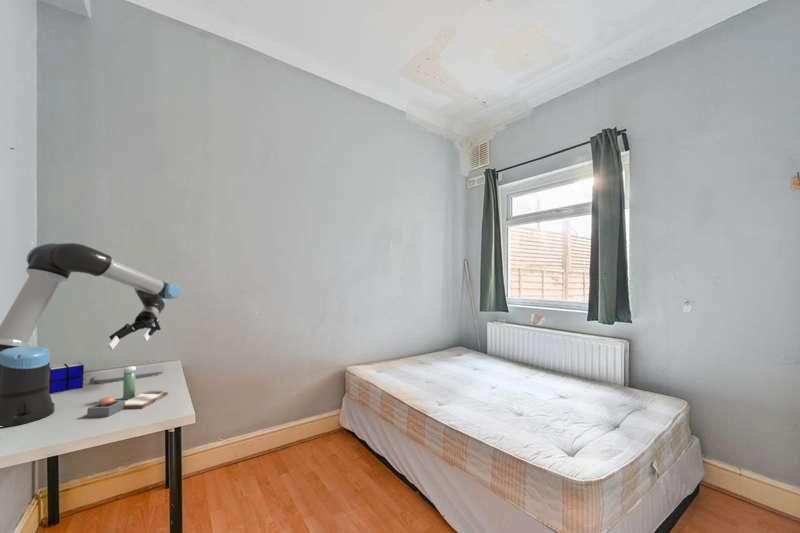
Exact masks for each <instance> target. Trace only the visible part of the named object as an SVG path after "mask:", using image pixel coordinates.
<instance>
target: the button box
mask: <svg viewBox="0 0 800 533" xmlns="http://www.w3.org/2000/svg"><path fill="white" fill-rule="evenodd" d="M125 401H126V400H123V399H119V400H118V399H117V400H116V399H115V402H114V403H112V404H109V405H99V402H98V403H96V404H94V405H92V406H89V407H87V412H86V414H87V416H86V417H87V418H102V417H103V418H104V417H111V416H113V415H115V414H117V413H119V412H121V411H123V410H125V409H124V406H125Z"/></svg>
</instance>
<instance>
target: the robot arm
mask: <svg viewBox="0 0 800 533" xmlns="http://www.w3.org/2000/svg"><path fill="white" fill-rule="evenodd" d="M26 262H27V265H28V266H27V268H26V270H25V272H26V273H27V275H28V278H27V279H26V281H25V282H24V285H23V286H22V288H21V290H19V293H18V294H17V296H16V298H15V299H14V302H13V303H12V304H11V306H10V308H9V310H8V312H7V313H6V315H5V317H4V318H3V320H2V322H1V323H0V426H9V427H14V426H13V425H15V426H19V424H20V425H23V424H27V423H28V424H29V423H31V422H35V421H38V420H41V419H44V418H47V417H49V416H51V415H53V413H54V412H55V408H56V407H55V403H54V402H53V400H52V396H51V394H49V391H48V384H49V366H51V365H50V363H51V353H50V349H48V348H47V347H44V346H43V347H42V346H33V345H32V346H30V344H29V341H30V339H31V337H32V335H33V333H34V331H35V329H36V328H37V327H38V326H37V325H38V324H39V322H40V321H41V319H42V316H43V314H44V313H45V312H46V309H47V307H48V306H49V303H50V302H51V300H52V298H53V296H54V294H55V293H56V291H57V289H58V287H59V285H60V283H63V282H67V281H68V279H69V277H70V275H71V273H82V274H83V273H84V274H87V275H90V276H94V277H100V276H102V277H104V278H107V279H110V280H113V281H115V282H118V283H120V284H124V285H126V286H129V287H131V288H133V289H134V292H135V293H136V295H137V296H138V299H139V300H140V302H141V303H142V305H143V308H142V309H141V310H140V311H139V313H138V314H137V315H136V317H135V319H134V322H132V323H131V324H129V323H126V324H124V326H122V327H121V328H120V329H118V330H117V331H115V332H113V333H112V334H111V335H108V337H109V339H110V341H109V343H108V344H107V347H108V348H109V350H114V349H115V347H116V346H117V345H118V344H119V343H120V341H121V339H122V338H125V337H126V336H128V335H130V334H132V333H135V332H137V331H139V330H143V329H147V330H146V332H144V334H143V336H142V339H143V340H144V342H148V340H149V339H150V338H151V336H153V335H154V333H155V332H156V331H161V326H160V324H159V323H160V320H159V318H158V317H159V315H160V314H161V313H162V312H163V310H164V309H165V307H166V304H167V301H166V300H172V299H176V298H178V296H179V295H180V294H181V287H180V286H179V284H176V283H167V282H165V281H163V280H160V279H158V278H156V277H153V276H151V275H148V274H146V273H144V272H141V271H139V270H137V269H135V268H132V267H130V266H128V265H126V264H124V263H121V262H119V261H117V260H114V259H113V257H112V256H110V255H109V254H107V253H104V252H103V251H102V252H101V251H99V250H97V249H94V248H92V247H91V246H88V245H87V246H86V245H84V244H81V243H76V242H75V243H74V242H68V243H55V242H54V243H45V244H41V245H40V244H39V245H37V246H35V247H34V248H32V249H31V250H30V251H29V252H28V254H27V256H26ZM153 324H154V325H153Z"/></svg>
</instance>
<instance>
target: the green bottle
mask: <svg viewBox="0 0 800 533" xmlns="http://www.w3.org/2000/svg"><path fill="white" fill-rule="evenodd" d="M136 367H137V366H136V365H131V366H130V365H129V366H125V367H123V369H124V380H123V385H122V386H123V388H122V390H123V391H122V400H125V401H126V399H131V398H133V397H135V396H136V378H135V377H136Z"/></svg>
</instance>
